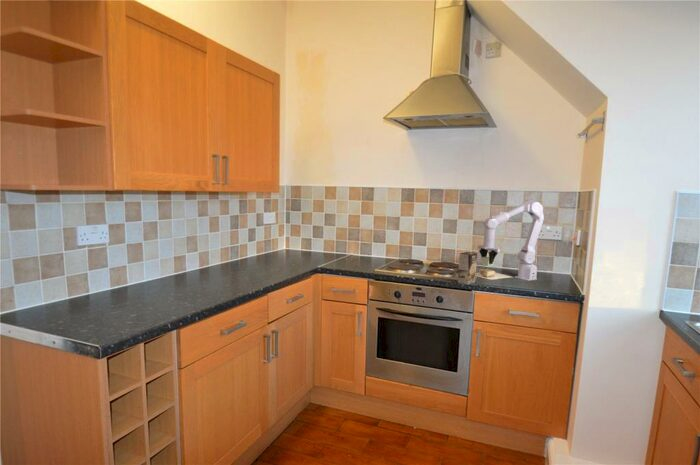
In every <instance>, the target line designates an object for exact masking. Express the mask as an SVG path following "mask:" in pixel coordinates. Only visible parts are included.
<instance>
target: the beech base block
mask: <svg viewBox="0 0 700 465" xmlns="http://www.w3.org/2000/svg"><path fill="white" fill-rule="evenodd" d="M478 273H479V276H482V277H485V278H484V279H486V278H491V277H494V274H495V273H496V271H495V270H491V269H488V268H484V269H482V268H481V269H479V270H478ZM482 277H481V278H482Z"/></svg>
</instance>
